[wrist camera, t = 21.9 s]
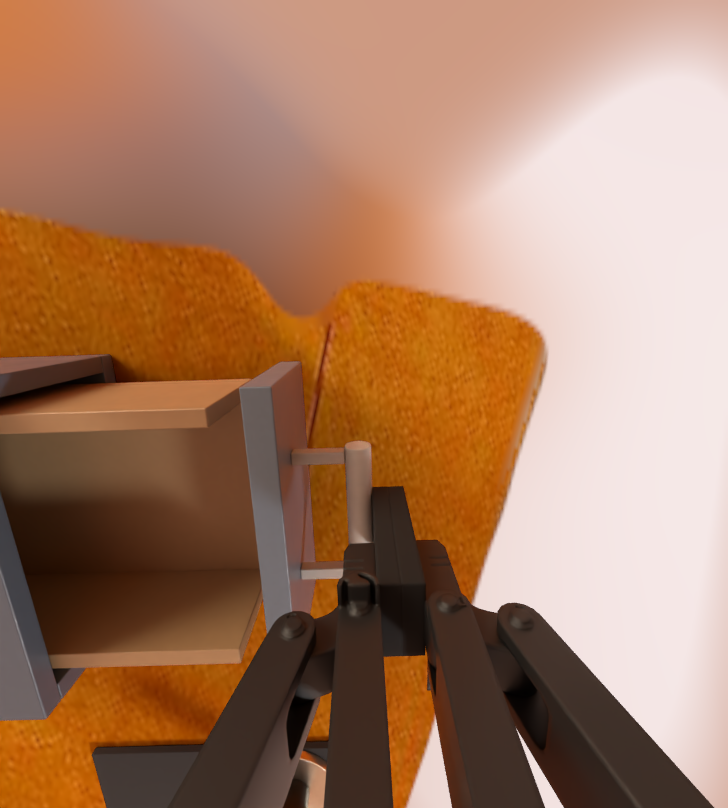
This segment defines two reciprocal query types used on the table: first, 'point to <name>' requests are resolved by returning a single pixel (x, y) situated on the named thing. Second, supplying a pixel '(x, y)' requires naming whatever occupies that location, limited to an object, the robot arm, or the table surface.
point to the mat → (152, 772)
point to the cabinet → (3, 573)
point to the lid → (307, 783)
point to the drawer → (168, 513)
